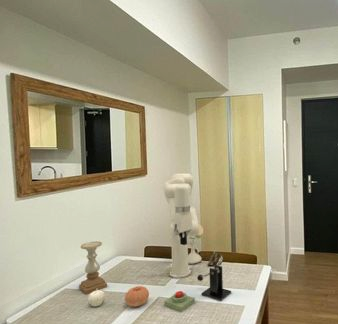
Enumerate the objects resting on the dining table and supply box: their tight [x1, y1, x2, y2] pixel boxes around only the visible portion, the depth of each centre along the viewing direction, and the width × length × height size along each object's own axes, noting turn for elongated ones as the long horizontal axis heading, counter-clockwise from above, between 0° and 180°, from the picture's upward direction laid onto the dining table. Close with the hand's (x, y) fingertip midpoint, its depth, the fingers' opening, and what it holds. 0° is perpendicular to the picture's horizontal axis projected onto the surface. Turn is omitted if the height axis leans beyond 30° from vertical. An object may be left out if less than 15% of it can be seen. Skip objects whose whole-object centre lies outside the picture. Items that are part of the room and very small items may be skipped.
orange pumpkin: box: [124, 285, 150, 308], centre depth 132 cm, size 11×11×8 cm
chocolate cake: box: [207, 250, 224, 267], centre depth 180 cm, size 10×7×12 cm
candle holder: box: [78, 240, 108, 295], centre depth 150 cm, size 11×11×24 cm
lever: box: [197, 267, 220, 282], centre depth 143 cm, size 15×3×3 cm, turn 59°
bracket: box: [201, 265, 232, 302], centre depth 140 cm, size 12×9×14 cm
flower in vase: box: [188, 224, 204, 264], centre depth 183 cm, size 13×11×25 cm
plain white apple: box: [87, 288, 106, 307], centre depth 133 cm, size 7×7×8 cm
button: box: [174, 290, 184, 298], centre depth 131 cm, size 4×4×2 cm
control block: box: [163, 292, 196, 312], centre depth 132 cm, size 11×9×4 cm
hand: (183, 244), depth 142 cm, fingers closed
